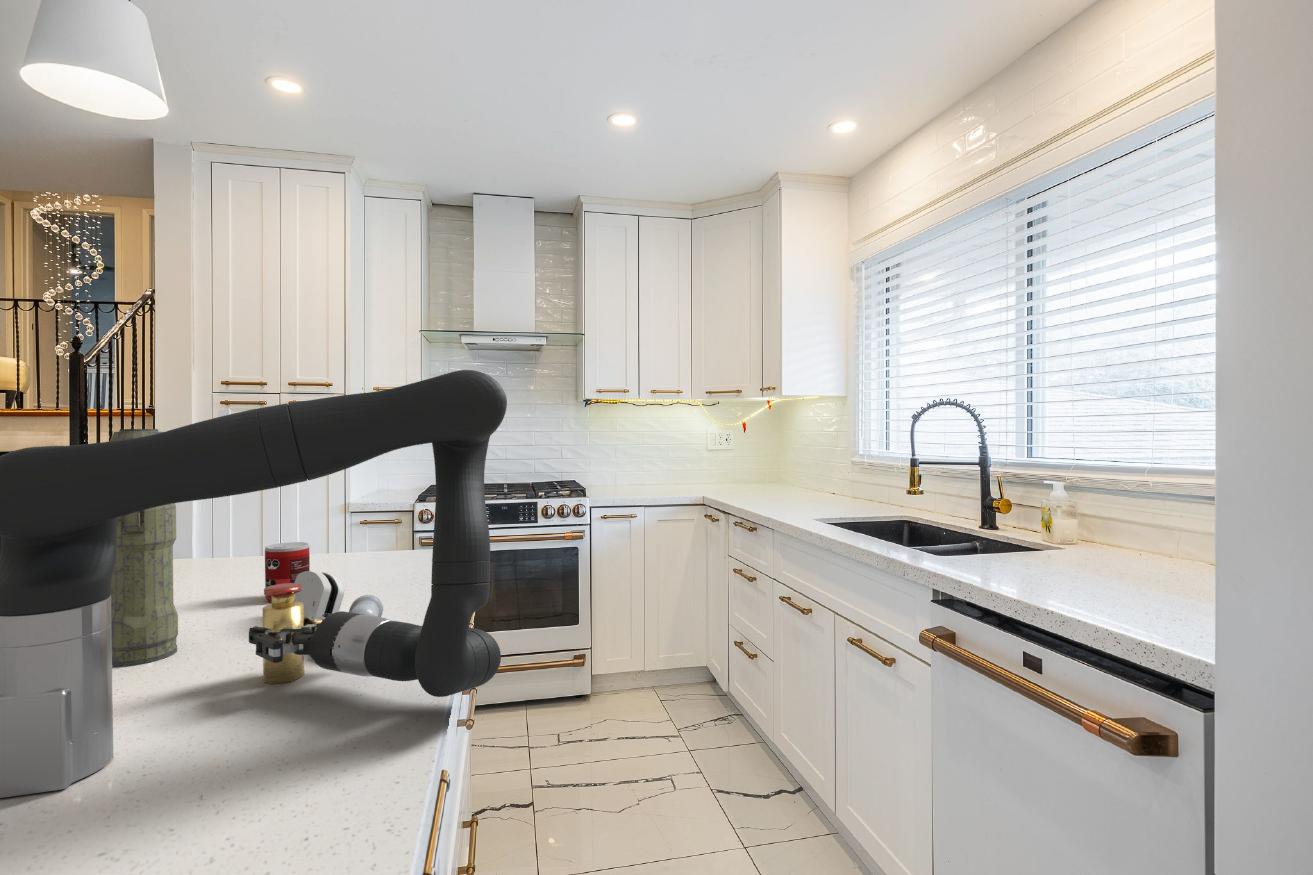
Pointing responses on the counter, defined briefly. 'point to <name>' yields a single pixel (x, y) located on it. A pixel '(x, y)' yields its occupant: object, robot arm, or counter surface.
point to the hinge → (319, 593)
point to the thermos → (143, 581)
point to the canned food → (285, 563)
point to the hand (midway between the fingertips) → (270, 628)
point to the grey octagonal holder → (367, 606)
